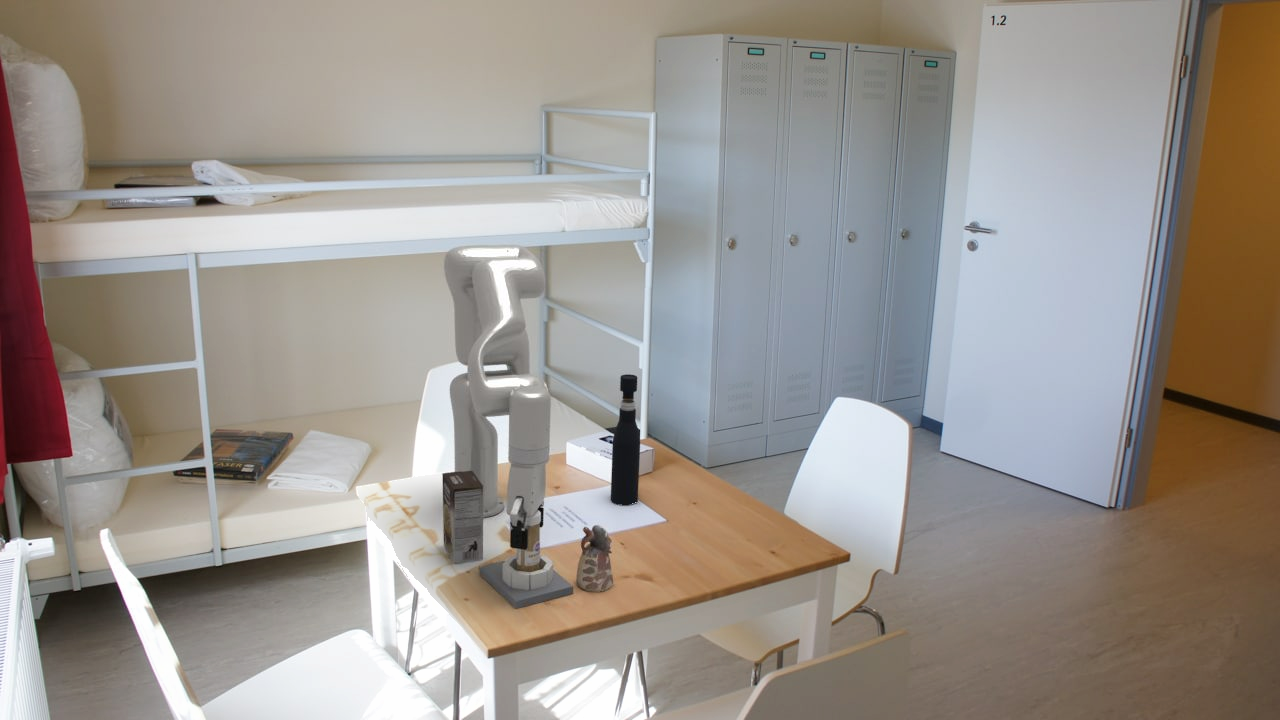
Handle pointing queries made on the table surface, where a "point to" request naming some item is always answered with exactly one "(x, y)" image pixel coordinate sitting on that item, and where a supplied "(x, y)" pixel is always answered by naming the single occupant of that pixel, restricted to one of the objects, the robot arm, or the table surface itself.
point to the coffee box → (463, 516)
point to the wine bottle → (626, 447)
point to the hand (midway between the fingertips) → (527, 536)
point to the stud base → (524, 594)
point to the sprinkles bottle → (530, 545)
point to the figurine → (595, 561)
